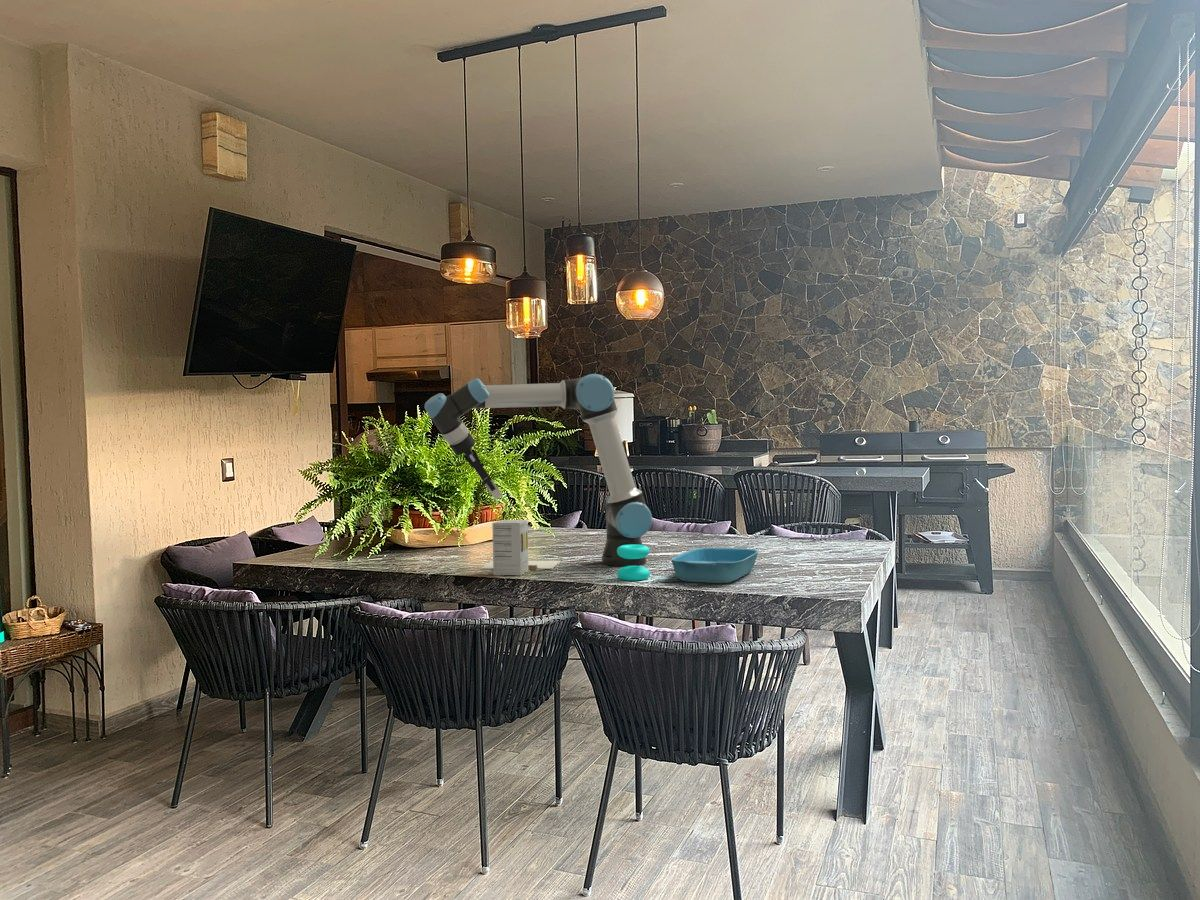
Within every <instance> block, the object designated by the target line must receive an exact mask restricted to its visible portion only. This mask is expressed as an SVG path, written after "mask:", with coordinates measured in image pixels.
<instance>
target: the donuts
mask: <svg viewBox="0 0 1200 900" xmlns="http://www.w3.org/2000/svg"><path fill="white" fill-rule="evenodd" d="M617 554H618V555H619V556H620V557H622V558H626V559H640V558H644V557H646V558H647V556H649V554H650V547H648V546H647V545H645V544H644V545H643V544H642V545H637V544H631V545H622V546H620V547H618V548H617ZM616 573H617V574H616V575H617V577H618V579H620V580H622V581H629V582H632V581H633V582H637V581H644V580H647V579H648V578H649V577H650V574H651V572H650V569H648V568H647V567H646V566H641V565H633V566H621V567H620V568H619V569H618V570H617V572H616Z"/></svg>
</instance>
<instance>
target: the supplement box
mask: <svg viewBox="0 0 1200 900" xmlns="http://www.w3.org/2000/svg"><path fill="white" fill-rule="evenodd" d="M528 523H529V520H527V519H501V520H498V521H495V522H492V525H491V526H492V561H493V569H492V570H493V576H501V575H521V576H523V575H524V574H523V573H525V572H526V573H528V572H529V570H528V561H529V533H528V529H529V527H528V525H529V524H528ZM527 571H528V572H527ZM526 573H525V574H526ZM522 574H523V575H522Z"/></svg>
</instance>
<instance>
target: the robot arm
mask: <svg viewBox="0 0 1200 900" xmlns="http://www.w3.org/2000/svg"><path fill="white" fill-rule="evenodd" d="M614 388H615V387H614V386H613V383H612V382H611V381H610V380H609V379H608V378H607V377H606V376H604V375H602V374H598V373H590V374H587V375H585V376H582V377H578V378H573V379H562V380H561V381H560V382H554V383H553V382H551V383H549V382H548V383H525V384H524V383H521V384H520V383H518V384H492V385H491V384H490V385H489V384H487V385H486V384H484V383H483V382H482V380H481V379H480V378H477V377H476V378H474V379H472V380H469V381H468V382H467V383H466V384H464V385H463V386H461V387H460V388H458V389H457V390H455V391H454V392H452V393H451V394H448V395H447V396H446V395H445V394H444V393H443V392H442V393H441V392H439V393H437V394H435V395H433V396H431V397H430V398H429V399H428V400H427V401H425V403H424V405H423V406H424V410H425V411H426V413H427V415H428V417H429V418H430V420H431V421H432V422H433V424H434V426H436V428H437V429H438V431H439V433H440V434H441V435H442V436H443V437H442V438H441V439H442V440H443V441H446V443H447V444H448V445H449V447H450V449H451V450H452V452H453V453H454V455H456V456H460V455H462V454H463V458H464V459H465V460H466V462H467V463H469V465H470V467H471V469H474V470H475V471H476V473H477V475H478V476H479V478H480V480H481V481H482V482H481V484H482V486H485V487H486V489H487V490H488V491H489V493H490V495H491V496H492V497H493V499H494V501H495V500H497V499H499V498H500V497H502V496H503V494H502V492H501V490H499V487H498V486H497V485H496V484H495V482H494V480H493V479H492V477H491V476H490V475H489V473H488V471H487V470H486V469H485V468H484V466H485V464H484V463H482V461H481V459H480V458H479V455H478V453H477V452H476V451H475V449H474V448H473V447H474V446H475V445H476V440H475V439H474V437H473V435H472V434H471V433H470V432H469V428H467V426H466V425H465V423H464V422H463V420H462V419H461V418H460V417H462V416H463V415H465V414H467V413H468V412H470V411H471V410H473V409H474V410H475V409H477V410H478V409H498V408H499V409H501V408H502V409H505V408H533V407H535V408H537V407H541V408H542V407H561V408H562V409H564V410H566V409H567V410H568V409H569V410H579V413H580V417H581V420H582V422H584V423H586V424H588V426H589V429H590V433H591V435H592V439H593V443H594V445H595V446H594V447H595V450H596V453H597V456H598V459H599V462H600V466H601V469H602V473H603V476H604V479H605V483H606V485H607V489H608V492H609V495H608V496H606V498H605V505H604V506H605V518H606V519H605V520H606V521H605V525H606V527H605V529H606V530H605V531H606V540H605V541H606V542H605V545H604V547H603V552H602V555H601V563H602V565H606V566H612V567H613V566H617V567H625V566H641V565H644V564H646V563H647V556H646V557H644V558H640V559H626V558H622V557H620V556H619V555H618V554H617V548H618V547H620V546H622V545H631V544H637V545H643V542H642V537H643V536H644V535H646V534H647V533H648V532H649V531H650V529H651V526H652V523H653V515H652V512H651V510H650V508H649V507H648V506H647V504H646V500H645V498H644V494H643V491H642V490H640V489H639V488H637V487H636V484H635V481H634V477H633V474H632V470H631V468H630V463H629V461H628V457H627V454H626V451H625V447H624V444H623V440H622V438H621V434H620V430H619V428H618V424H617V420H616V418H615V417H616V414H617V412H618V407H617V405H616V401H615V389H614Z"/></svg>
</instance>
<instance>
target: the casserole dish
mask: <svg viewBox="0 0 1200 900" xmlns="http://www.w3.org/2000/svg"><path fill="white" fill-rule="evenodd" d="M758 554H759V550H758V549H754V548H745V547H720V546H719V547H718V546H717V547H715V546H714V547H712V546H711V547H710V546H709V547H698V548H693V549H690V550H689V549H688V550H687V551H684V552H682V553H680V554H677V555H675V556H673V557H671V558H670V560H671V563H672V566H673V570H674V573H675V574H676V577H677V578H678V579H680V580H681V581H683V582H690V583H706V584H728V583H733V582H735V581H737V580H739V579H741V578H742V577H744V576H745V574H746V575H747V574H749V573H750V572H751V571H753V568H754V566H755V564H756V561H757V557H758Z"/></svg>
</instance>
